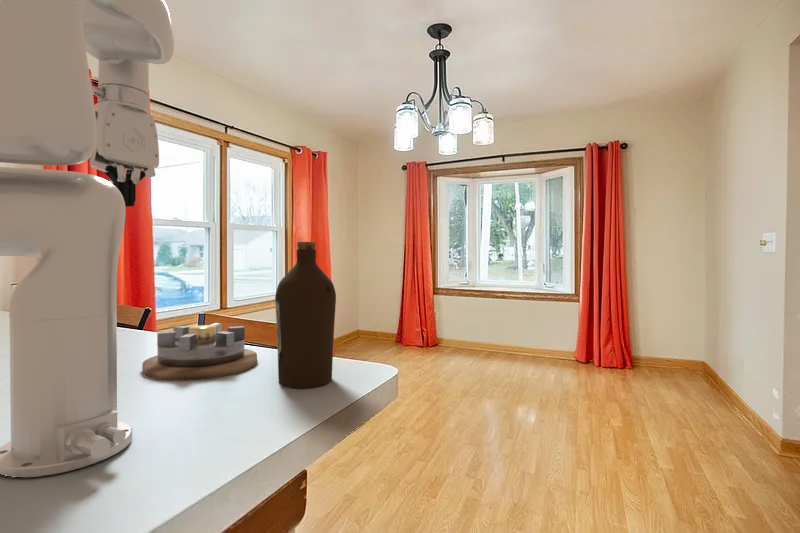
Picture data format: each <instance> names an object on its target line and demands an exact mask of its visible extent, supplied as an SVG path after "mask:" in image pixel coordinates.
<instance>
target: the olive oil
mask: <svg viewBox="0 0 800 533" xmlns="http://www.w3.org/2000/svg"><path fill="white" fill-rule="evenodd" d="M296 245H297V249H296V263H295V265H294V266H293V267H292V268H291V269H290V270H289V271H288V272H287V273H286V274H285V275H284V276H283V277H282V279H281V280H280V281H279V283H278V285H277V287H276V290H275V291H276V292H275V296H274V297H275V298H274V301H275V303H274V305H275V320H276V321H275V322H276V344H277V345H276V346H277V366H278V367H277V371H278V374H277V376H278V384H280V385H281V386H282V387H285V388H290V389H312V388H319V387H323V386H326V385H328V384H329V383H331V382H332V380H333V379H332V378H333V358H334V357H333V356H334V352H333V351H334V341H335V340H334V339H335V338H334V337H335V322H336V321H335V318H336V306H337V305H336V304H337V293H336V289H335V285H334V283H333V282H332V280H331V279H330V278H329V276H328V275H327V274H326V273H325V272H324V271H323V270H322V269H321V267H320V266H319V265H318V264H317V262H316V260H317V259H316V258H317V250H316V242H314V241H298V242H297V243H296Z"/></svg>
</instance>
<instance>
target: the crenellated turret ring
mask: <svg viewBox="0 0 800 533" xmlns="http://www.w3.org/2000/svg"><path fill="white" fill-rule="evenodd" d="M222 326H223V324H222V323H220V322H214V323H211V324H209V325H208V324H205V325H204V324H202V325H194V326H187V325H186V326H185V325H177V326H172V331H171V330H170V331H158V332H156V342H157V343H156V346H157V347H156V348H157V355H156V356H157V361H158V363H160V364H163V365H167V366H177V367H193V366H206V365H215V364H221V363H226V362H230V361H234V360H237V359H239V358H241V357H243V356H244V349H245V340H246V339H245V331H246V330H245V329H246V328H245V326H244V325H238V326H237V325H236V326H227V331H225V330H223V329H222V328H223V327H222Z"/></svg>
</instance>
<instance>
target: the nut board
mask: <svg viewBox="0 0 800 533" xmlns="http://www.w3.org/2000/svg"><path fill="white" fill-rule="evenodd" d="M257 363H258V354H257V352H256V351H254V350H251V349H247V348H244V356H243V357H241V358H239V359H237V360H234V361H230V362H226V363H221V364H215V365H206V366H193V367H177V366H167V365H163V364H160V363H158V361H157V355H153V356H151V357H149V358H147V359H145V360H144V361H143V362H142V363H141V364H142V366H141V367H142V368H141V369H142V370H141V371H142V374H143V375H144V376H145V377H147V378H151V379H154V380H155V379H156V380H162V381H163V380H164V381H192V380H193V381H195V380H207V379H214V378H221V377H226V376H231V375H235V374H238V373H242V372H245V371H247V370H250V369H252V368H253V367H255V366H256V365H257Z"/></svg>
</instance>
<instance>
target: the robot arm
mask: <svg viewBox="0 0 800 533" xmlns="http://www.w3.org/2000/svg"><path fill="white" fill-rule="evenodd" d="M174 51H175V38H174V31H173V26H172V21H171V16H170V12H169V9H168V6H167V4H166V2H165V0H0V163H4V164H5V163H6V164H16V165H18V164H19V165H32V166H54V167H55V166H73V165H78V164H82V163H85V162H87V161H88V160H89V159H90V160H89V161H90V162H89V166H90V167H91V168H93V169H96V170H98V171H101V172H103V173H104V174H105V175H106V176H107V177H108V178H109V181H108V180H107V179H105V178H103V177H100V176H98V175H95V174H90V173H85V172H78V171H71V170H69V171H68V170H58V169H45V168H32V167H22V168H21V167H10V166H0V257H27V258H39V261H38V262H37V264H35V266H34V267H33V268H32V269H31V270H30V271H28V273H27V274H26V275H25V276H24V277H23V278H22V279H21V280H20V282H18V284H17V285H16V287H15V288H14V289H13V292H12V294H11V296H10V301H9V307H8V308H9V311H8V313H9V314H8V315H9V378H10V379H9V380H10V382H9V383H10V384H9V385H10V388H9V390H10V391H9V392H10V396H9V397H10V441H9V442H6V443H5V444H3V445H1V446H0V474H1V475H7V476H13V477H12V478H15V477H23V478H25V479H26V478H37V477H46V476H51V475H57V474H62V473H67V472H70V471H74V470H80V469H83V468H86V467H88V466H91V465H94V464H97V463H100V462H102V461H104V460H106V459H108V458H111V457H113V456H114V455H115V456H116V454H118V453H120V452H121V451H123V450H124V449H125V448H126V447H128V445H130V443H131V442H132V440H133V428H132V426H130V425H129V424H127V423H125V422H122V421H119V420H118V373H117V372H118V351H117V350H118V347H117V345H118V344H117V342H118V341H117V340H118V339H117V336H118V334H117V333H118V332H117V330H118V328H117V325H118V324H117V323H118V322H117V320H118V319H117V318H118V317H117V316H118V315H117V313H118V312H117V311H118V310H117V307H118V306H117V305H118V304H117V302H118V301H117V300H118V296H117V295H118V294H117V293H118V292H117V290H118V269H119V259H120V252H121V245H122V240H123V236H124V235H123V234H124V229H125V223H126V222H125V221H126V215H127V214H126V208H129V207H134V206H135V202H136V185H138V184H139V183H140V181H142V179H144V178H154V177H155V176H156V171H155V169H157V168H158V167H159V165H160V149H159V148H160V147H159V139H158V138H159V137H158V131H157V126H156V122H155V118H154V115H153V114H150V113H149V112H150V110H149V109H150V108H149V107H150V106H149V105H150V104H149V95H150V94H149V91H150V90H149V85H150V84H149V78H150V77H149V73H150V72H149V66H150V65H149V64H152V65H164V64H167V63H169V62H170V61H171V59H172V58H173V56H174ZM87 54H89V55H90V56H92V57H93V58H95V59H96V60H98V68H97V69H98V70H97V71H98V73H97V74H98V76H97V77H98V78H97V79H98V84H97V85H98V86H94V85H92V81H91V75H90V69H89V63H88V56H87ZM93 95H94V96H96V97H97V100H96V102H97V103H94V102H95V100H94V96H93ZM1 475H0V476H1ZM14 476H15V477H14ZM23 478H22V479H23Z"/></svg>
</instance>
